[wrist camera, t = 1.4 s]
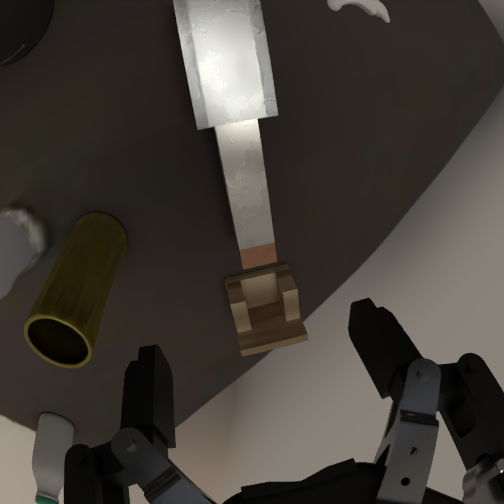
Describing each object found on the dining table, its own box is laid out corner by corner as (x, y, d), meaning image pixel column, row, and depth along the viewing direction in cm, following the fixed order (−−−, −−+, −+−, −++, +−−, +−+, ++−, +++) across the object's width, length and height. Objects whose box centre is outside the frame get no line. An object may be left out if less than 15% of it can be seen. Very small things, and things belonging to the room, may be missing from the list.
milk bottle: (41, 407, 42) (26, 497, 26) (76, 420, 46) (68, 511, 29) (39, 420, 45) (27, 501, 28) (71, 432, 48) (65, 513, 32)
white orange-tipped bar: (192, 11, 18) (191, -1, 15) (229, 5, 18) (236, -7, 15) (237, 246, 30) (243, 269, 27) (267, 239, 30) (277, 261, 27)
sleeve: (175, 5, 19) (170, -18, 13) (239, -5, 19) (254, -29, 13) (196, 118, 24) (197, 130, 19) (258, 107, 25) (277, 115, 19)
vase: (137, 228, 29) (108, 335, 17) (115, 272, 31) (88, 382, 19) (84, 201, 26) (21, 294, 14) (66, 249, 28) (15, 350, 16)
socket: (224, 277, 34) (232, 322, 28) (286, 263, 34) (306, 304, 28) (233, 311, 36) (242, 356, 31) (290, 298, 37) (307, 340, 31)
